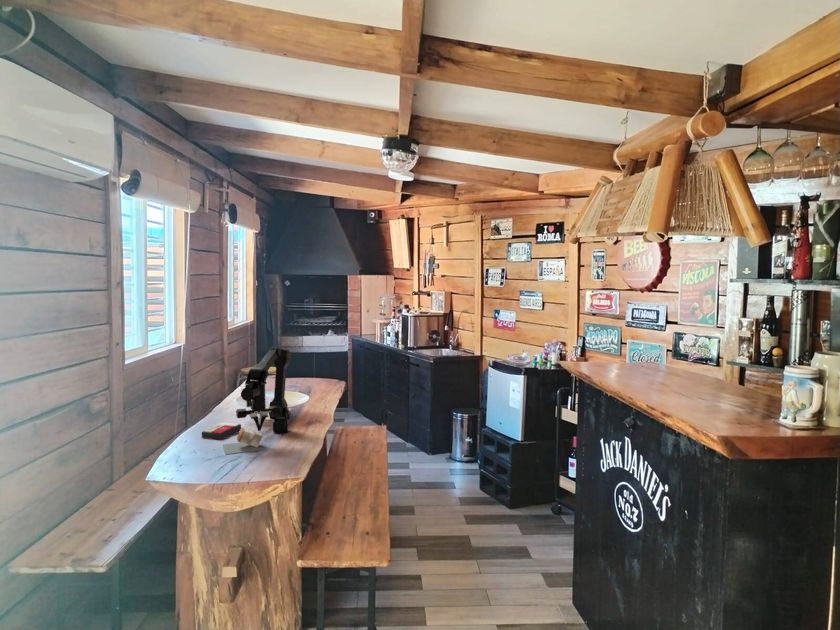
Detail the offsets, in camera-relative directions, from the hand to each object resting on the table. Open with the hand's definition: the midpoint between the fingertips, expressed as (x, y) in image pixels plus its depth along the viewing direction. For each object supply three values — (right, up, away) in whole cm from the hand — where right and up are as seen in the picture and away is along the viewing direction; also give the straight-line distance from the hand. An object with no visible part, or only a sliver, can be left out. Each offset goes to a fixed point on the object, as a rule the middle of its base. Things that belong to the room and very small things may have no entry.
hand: (259, 430), depth 234 cm
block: (0, -4, 0) cm, 4 cm away
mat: (-7, -7, -3) cm, 10 cm away
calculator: (-23, -6, +17) cm, 30 cm away
